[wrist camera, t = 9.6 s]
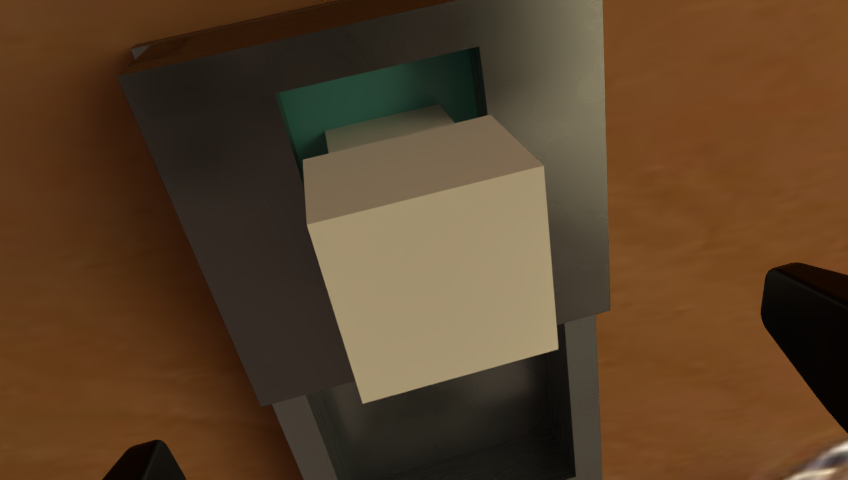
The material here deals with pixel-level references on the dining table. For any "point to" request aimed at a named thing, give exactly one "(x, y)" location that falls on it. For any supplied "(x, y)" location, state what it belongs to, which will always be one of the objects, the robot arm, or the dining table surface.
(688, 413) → the dining table surface
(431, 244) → the slider
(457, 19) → the keyhole guide
